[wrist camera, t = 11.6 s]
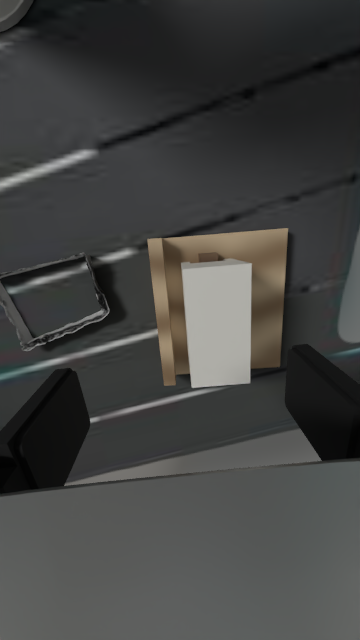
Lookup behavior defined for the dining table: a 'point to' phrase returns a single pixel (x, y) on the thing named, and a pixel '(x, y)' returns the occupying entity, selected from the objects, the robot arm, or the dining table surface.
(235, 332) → the light grey block
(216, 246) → the cleat board
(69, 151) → the dining table surface
